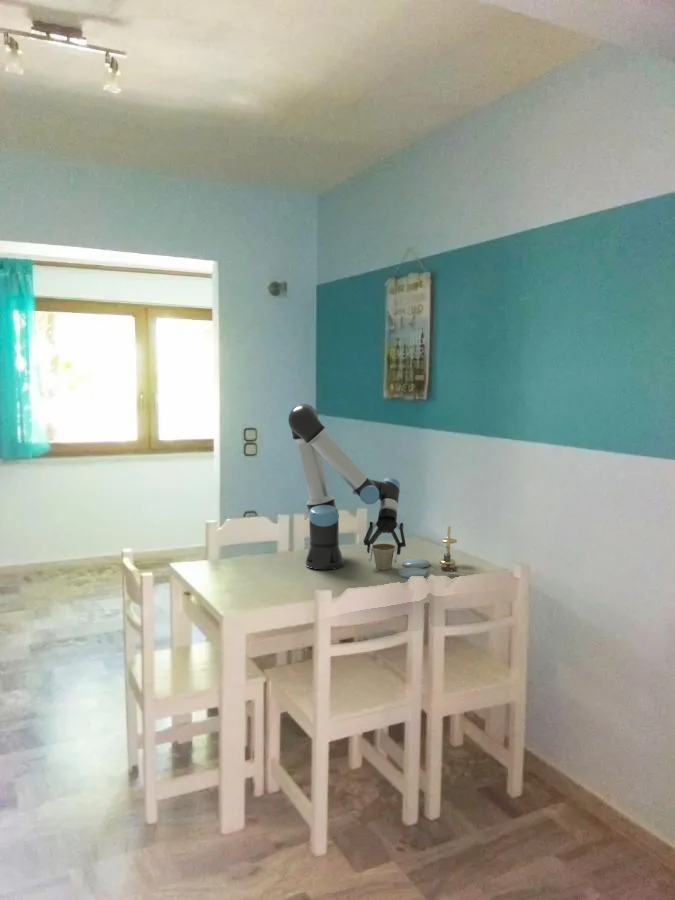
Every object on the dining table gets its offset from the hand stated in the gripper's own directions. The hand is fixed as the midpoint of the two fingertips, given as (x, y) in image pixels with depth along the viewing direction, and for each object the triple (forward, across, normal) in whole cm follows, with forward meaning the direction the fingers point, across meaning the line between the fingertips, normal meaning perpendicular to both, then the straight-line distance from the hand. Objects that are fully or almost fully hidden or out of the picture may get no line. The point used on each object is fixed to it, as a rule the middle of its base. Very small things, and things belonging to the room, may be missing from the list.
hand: (382, 560), depth 271 cm
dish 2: (-4, -12, -10) cm, 16 cm away
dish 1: (+5, -12, 0) cm, 13 cm away
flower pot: (+1, 0, -5) cm, 5 cm away
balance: (-2, -25, -8) cm, 26 cm away
